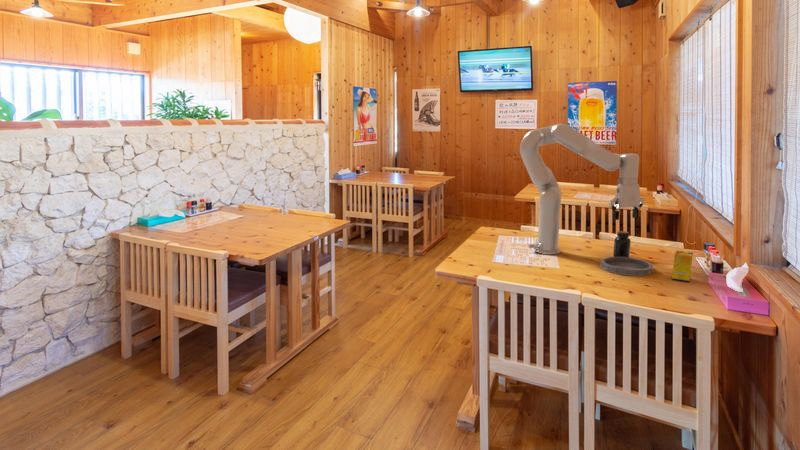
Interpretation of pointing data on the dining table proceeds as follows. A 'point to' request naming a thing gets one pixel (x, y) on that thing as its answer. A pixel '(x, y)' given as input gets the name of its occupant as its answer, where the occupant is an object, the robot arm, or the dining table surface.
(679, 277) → the supplement box
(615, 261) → the round tray
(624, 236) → the supplement bottle
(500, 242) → the dining table surface
